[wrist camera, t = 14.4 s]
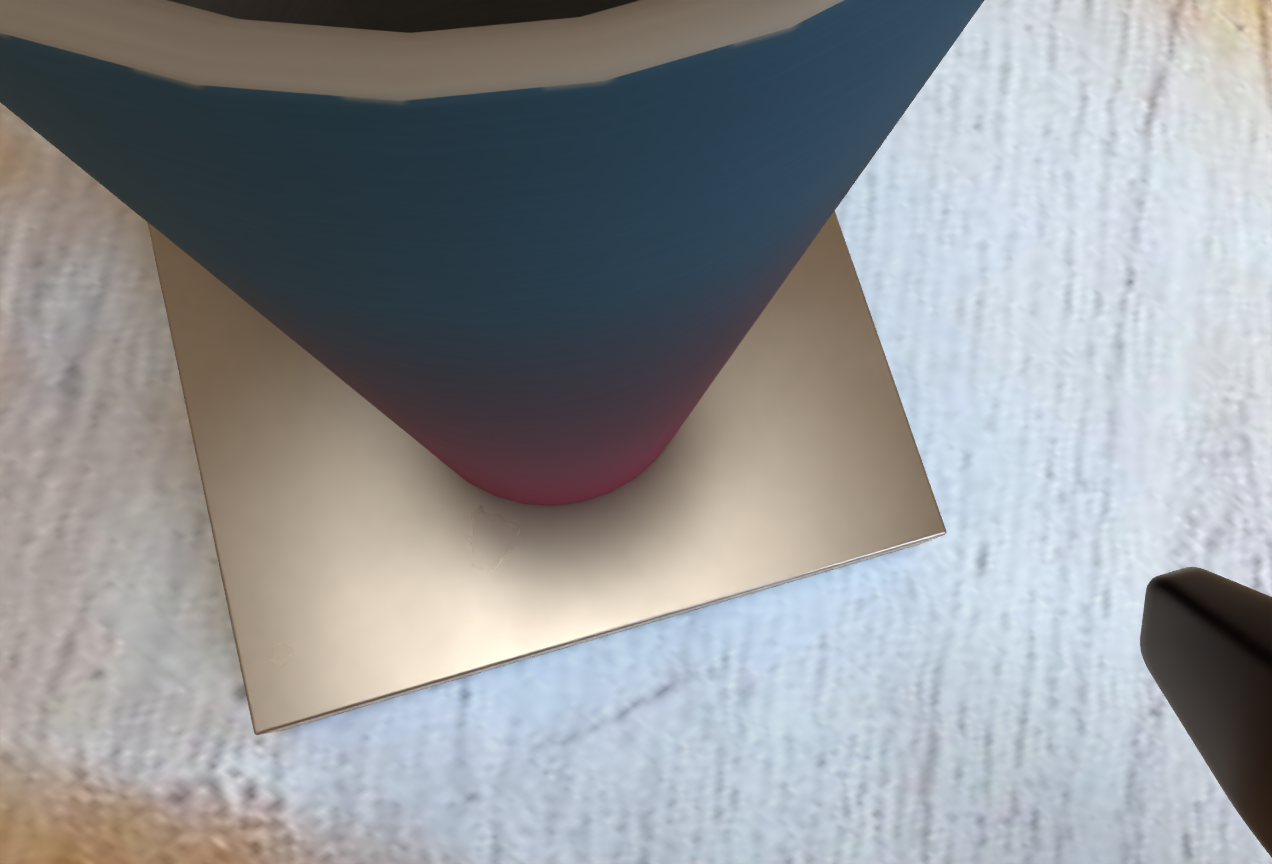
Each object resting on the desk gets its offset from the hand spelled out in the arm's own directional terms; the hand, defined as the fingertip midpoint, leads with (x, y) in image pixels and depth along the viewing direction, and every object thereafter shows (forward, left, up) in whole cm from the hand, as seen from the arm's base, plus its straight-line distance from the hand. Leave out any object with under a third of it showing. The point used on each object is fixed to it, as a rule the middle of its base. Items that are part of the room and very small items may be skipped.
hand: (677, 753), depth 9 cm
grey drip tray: (+4, +5, -10) cm, 12 cm away
